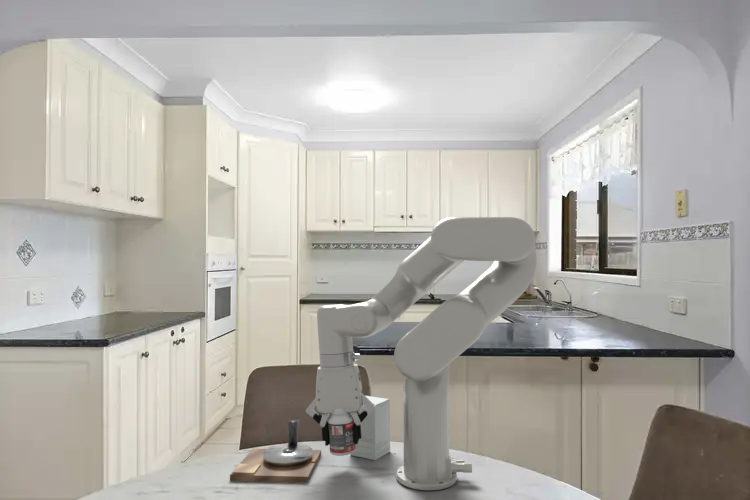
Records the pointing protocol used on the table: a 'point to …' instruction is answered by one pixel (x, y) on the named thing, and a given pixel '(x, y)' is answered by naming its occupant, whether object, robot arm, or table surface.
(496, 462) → the table surface
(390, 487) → the table surface
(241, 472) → the dial board
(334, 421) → the pill bottle
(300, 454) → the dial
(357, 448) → the supplement box
